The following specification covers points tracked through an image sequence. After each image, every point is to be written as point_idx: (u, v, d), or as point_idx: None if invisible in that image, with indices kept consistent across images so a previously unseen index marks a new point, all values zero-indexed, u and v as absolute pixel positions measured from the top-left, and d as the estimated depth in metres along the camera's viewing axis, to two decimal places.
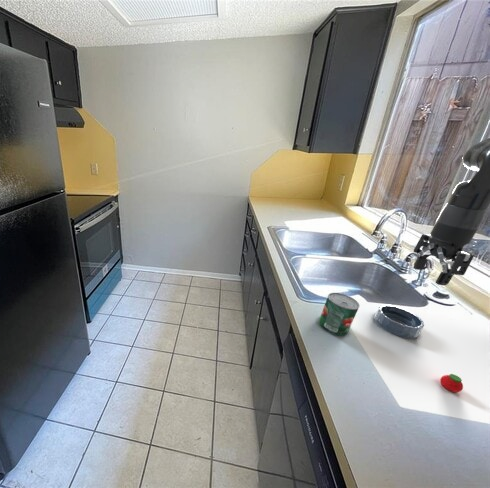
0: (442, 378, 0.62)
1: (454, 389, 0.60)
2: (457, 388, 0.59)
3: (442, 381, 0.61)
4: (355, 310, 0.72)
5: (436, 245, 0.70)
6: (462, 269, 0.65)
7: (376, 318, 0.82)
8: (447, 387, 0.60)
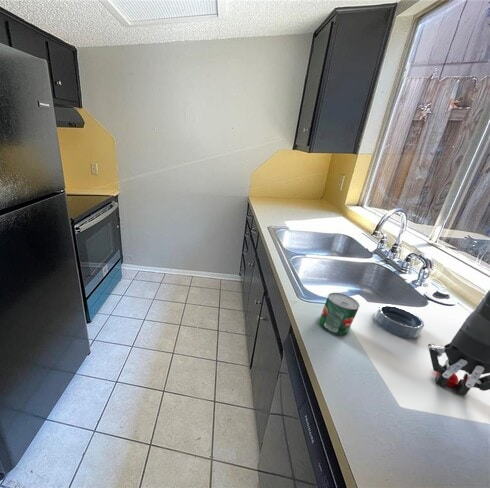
0: (438, 372, 0.64)
1: (453, 374, 0.62)
2: (454, 374, 0.62)
3: None
4: (355, 310, 0.72)
5: (466, 360, 0.57)
6: (485, 381, 0.58)
7: (376, 318, 0.82)
8: None
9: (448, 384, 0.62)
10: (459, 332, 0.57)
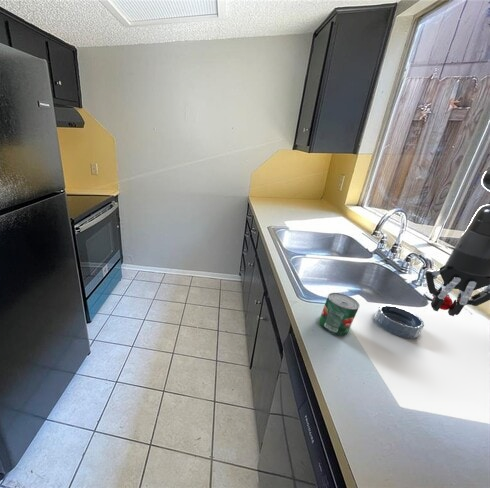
0: (433, 298, 0.68)
1: (448, 297, 0.66)
2: (448, 297, 0.66)
3: None
4: (355, 310, 0.72)
5: (460, 278, 0.61)
6: (477, 297, 0.62)
7: (376, 318, 0.82)
8: None
9: (443, 306, 0.66)
10: (453, 252, 0.61)
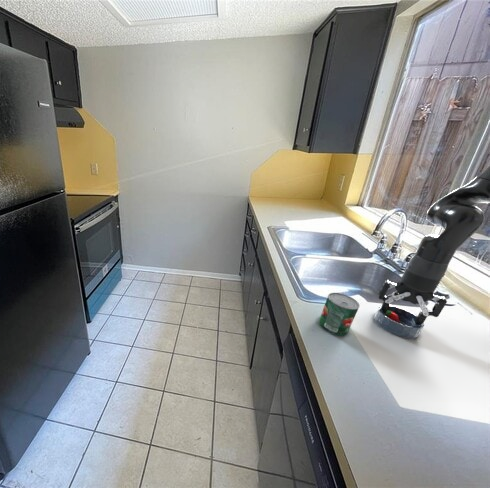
0: None
1: (393, 320, 0.81)
2: (393, 318, 0.80)
3: None
4: (355, 310, 0.72)
5: (410, 293, 0.75)
6: None
7: (376, 318, 0.82)
8: None
9: None
10: (405, 271, 0.75)
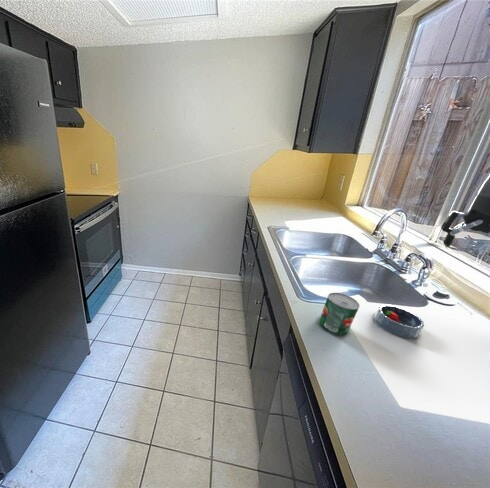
0: None
1: (393, 320, 0.81)
2: (393, 318, 0.80)
3: None
4: (355, 310, 0.72)
5: (482, 220, 0.70)
6: None
7: (376, 318, 0.82)
8: None
9: None
10: (476, 198, 0.70)
